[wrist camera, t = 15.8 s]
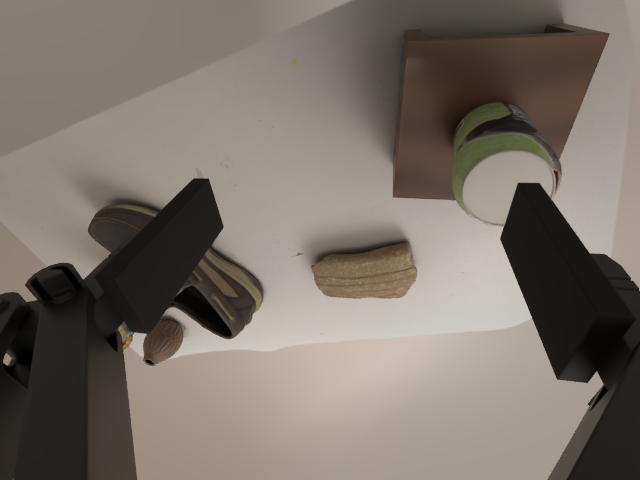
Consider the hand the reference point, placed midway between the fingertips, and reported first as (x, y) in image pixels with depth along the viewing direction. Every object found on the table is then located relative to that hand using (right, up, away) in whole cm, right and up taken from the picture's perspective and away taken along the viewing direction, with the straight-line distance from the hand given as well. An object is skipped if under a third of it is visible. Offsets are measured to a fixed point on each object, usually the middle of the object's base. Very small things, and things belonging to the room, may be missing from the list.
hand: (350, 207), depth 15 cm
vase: (-33, -20, +56) cm, 68 cm away
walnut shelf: (+14, +13, +20) cm, 28 cm away
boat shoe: (-23, -3, +42) cm, 48 cm away
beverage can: (+13, +8, +14) cm, 21 cm away
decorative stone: (+6, -6, +37) cm, 38 cm away
